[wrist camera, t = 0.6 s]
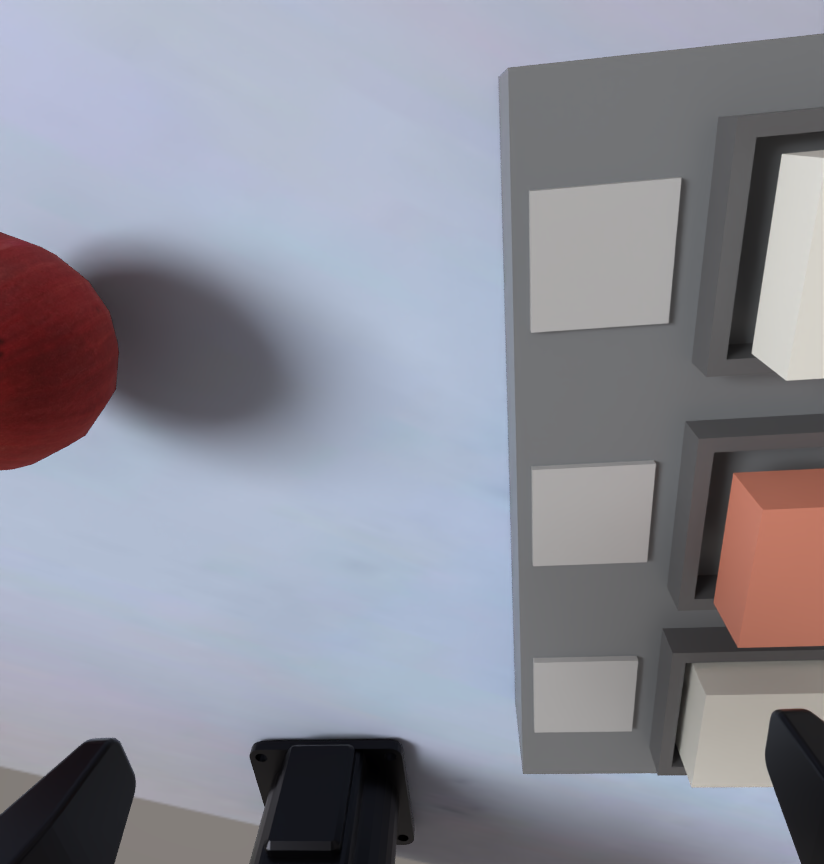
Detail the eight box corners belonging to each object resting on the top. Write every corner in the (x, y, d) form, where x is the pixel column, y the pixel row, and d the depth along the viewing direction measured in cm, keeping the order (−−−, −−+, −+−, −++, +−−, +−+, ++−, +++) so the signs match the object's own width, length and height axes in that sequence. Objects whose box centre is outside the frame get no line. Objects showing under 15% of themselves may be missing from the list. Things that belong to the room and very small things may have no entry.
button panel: (831, 698, 24) (898, 800, 21) (515, 704, 25) (526, 800, 22) (1023, 20, 14) (1211, -13, 11) (498, 77, 16) (512, 63, 12)
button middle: (873, 598, 16) (912, 643, 15) (713, 602, 17) (737, 647, 15) (911, 464, 15) (961, 501, 13) (733, 473, 15) (762, 510, 14)
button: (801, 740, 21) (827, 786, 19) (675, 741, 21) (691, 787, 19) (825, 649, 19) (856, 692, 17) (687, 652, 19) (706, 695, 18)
